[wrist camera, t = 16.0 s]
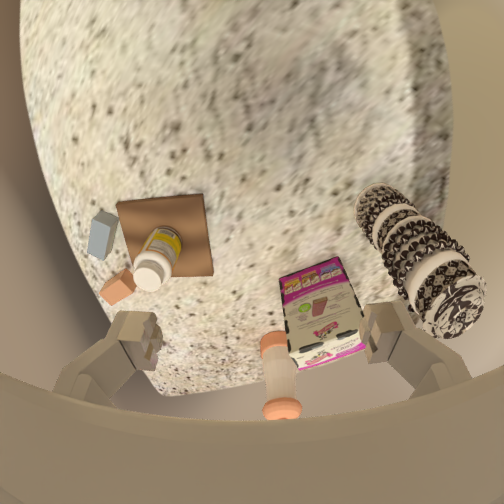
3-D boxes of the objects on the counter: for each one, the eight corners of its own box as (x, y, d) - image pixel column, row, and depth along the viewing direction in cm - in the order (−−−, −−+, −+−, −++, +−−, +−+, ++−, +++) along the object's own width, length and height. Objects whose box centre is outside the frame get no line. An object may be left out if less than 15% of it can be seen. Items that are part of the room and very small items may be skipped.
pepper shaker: (265, 354, 60) (267, 432, 43) (256, 334, 56) (256, 418, 40) (297, 348, 59) (306, 426, 42) (291, 327, 55) (301, 412, 39)
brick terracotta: (126, 267, 48) (119, 279, 45) (139, 280, 49) (133, 292, 46) (105, 282, 50) (98, 293, 47) (117, 294, 51) (111, 305, 48)
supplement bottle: (158, 258, 45) (139, 299, 36) (144, 230, 42) (120, 267, 33) (188, 251, 44) (173, 293, 35) (175, 221, 41) (155, 258, 32)
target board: (118, 201, 41) (115, 204, 40) (202, 193, 40) (201, 196, 39) (138, 273, 48) (136, 277, 47) (213, 271, 48) (212, 276, 47)
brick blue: (102, 209, 41) (92, 218, 39) (119, 217, 42) (110, 227, 39) (95, 242, 45) (87, 252, 42) (111, 249, 46) (103, 260, 43)
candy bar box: (288, 297, 51) (297, 372, 37) (277, 278, 48) (285, 354, 34) (346, 276, 48) (373, 347, 34) (339, 254, 46) (369, 326, 32)
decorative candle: (410, 211, 41) (500, 314, 20) (368, 243, 44) (434, 363, 23) (386, 169, 37) (495, 261, 16) (340, 203, 41) (413, 325, 20)
